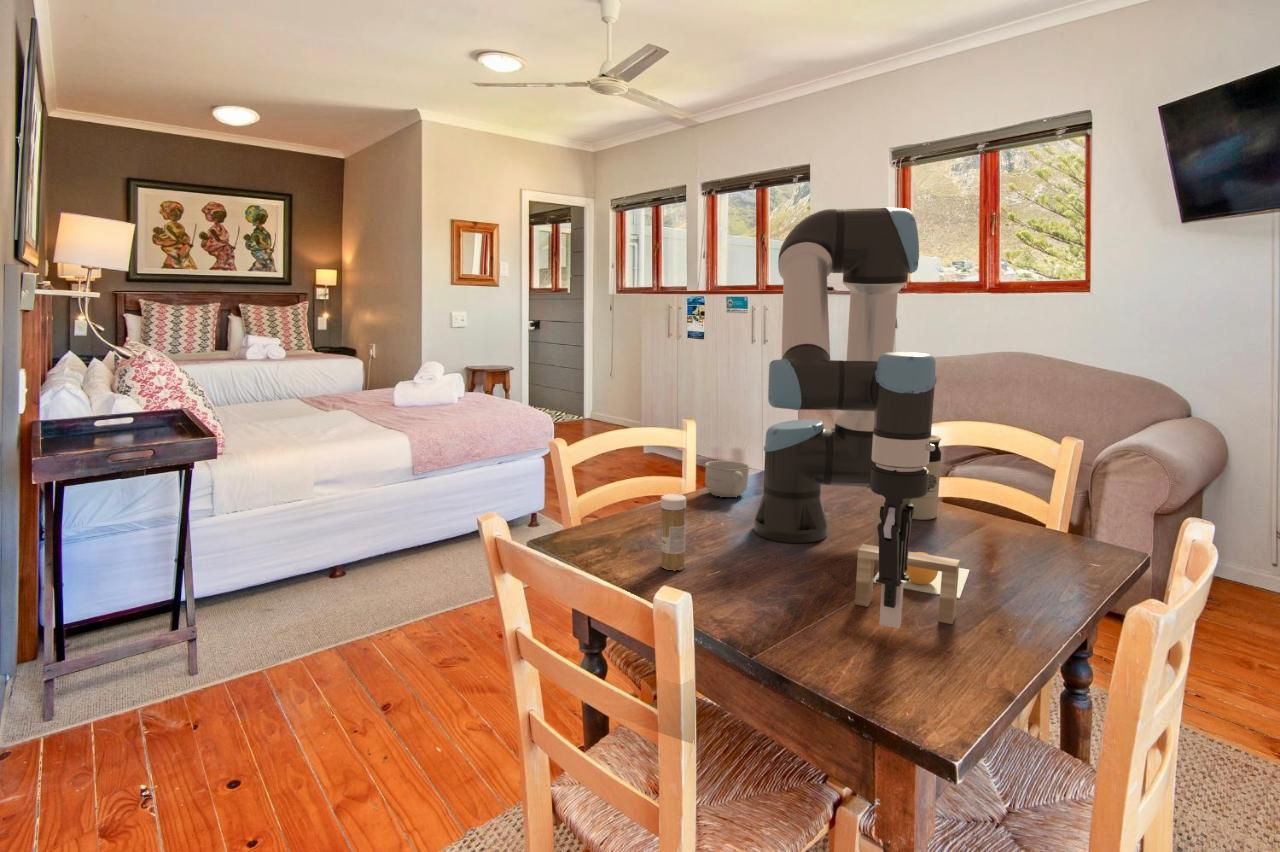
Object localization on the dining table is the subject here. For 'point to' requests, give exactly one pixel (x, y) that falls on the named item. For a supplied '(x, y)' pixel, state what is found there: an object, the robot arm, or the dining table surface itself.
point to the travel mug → (930, 486)
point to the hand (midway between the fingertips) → (890, 624)
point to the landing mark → (935, 583)
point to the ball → (921, 574)
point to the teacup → (726, 478)
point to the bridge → (916, 560)
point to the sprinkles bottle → (673, 531)
